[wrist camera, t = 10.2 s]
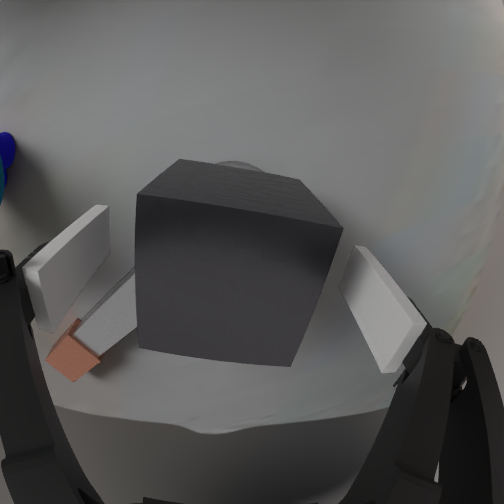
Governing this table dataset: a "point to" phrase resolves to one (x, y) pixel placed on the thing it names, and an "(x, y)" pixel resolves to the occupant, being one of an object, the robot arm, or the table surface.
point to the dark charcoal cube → (229, 263)
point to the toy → (5, 158)
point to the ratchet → (102, 323)
